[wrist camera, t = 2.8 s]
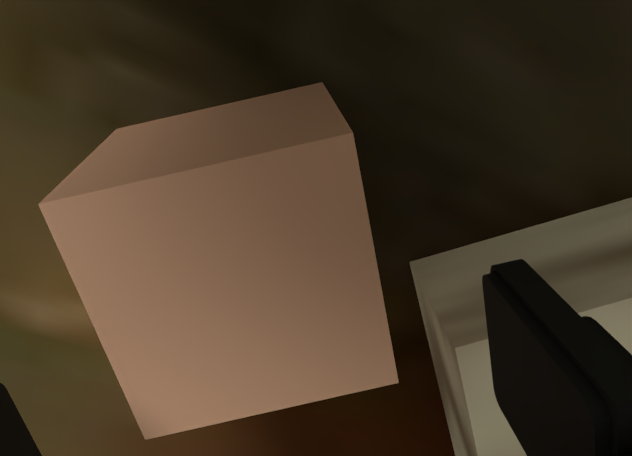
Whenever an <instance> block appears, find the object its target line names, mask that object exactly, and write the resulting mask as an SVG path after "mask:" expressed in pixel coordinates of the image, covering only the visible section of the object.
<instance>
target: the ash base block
mask: <svg viewBox="0 0 632 456" xmlns="http://www.w3.org/2000/svg"><path fill="white" fill-rule="evenodd" d="M518 259H523V260H524V261H526V262H527V263H528V264H529V265H530V266H531V267H532V268H533V269H534V270H535V271H536V272H537V273H538V274H539V275H540V276H541V277H542V278H543V279H544V280H545V281H546V282H547V283H548V284H549V285H550V286H551V287H552V288H553V289H554V290H555V291H556V292H557V293H558V294H559V295H560V296H561V297H562V298H563V299H564V300H565V301H566V302H567V303H568V304H569V305H570V306H571V307H572V308H573V309H574V310H575V311H576V312H577V313H578V314H579V315H580V316H581V317H583V316H589V317H592V318H593V319H594V320H596V321H597V322H598V323H599V324H600V325H601V326H602V327H603V328H604V329H605V330H607V331H608V332H609V333H610V334H611V335H612V336H613V337H614V338H615V339H616V340H617V341H618V342H619V343H620V344H621V345H622V346H623V347H624V348H625V349H626V350H627V351H628V352H629V353H630V354H631V355H632V198H628V199H625V200H621V201H618V202H614V203H611V204H608V205H604V206H601V207H597V208H594V209H590V210H587V211H583V212H580V213H577V214H573V215H570V216H566V217H563V218H559V219H556V220H552V221H549V222H546V223H542V224H539V225H535V226H532V227H528V228H525V229H521V230H518V231H515V232H511V233H508V234H504V235H501V236H497V237H494V238H490V239H487V240H484V241H480V242H477V243H473V244H470V245H466V246H463V247H459V248H456V249H453V250H449V251H446V252H442V253H439V254H435V255H432V256H428V257H425V258H422V259H418V260H415V261H411V262H409V263H410V267H411V272H412V276H413V280H414V284H415V288H416V293H417V297H418V301H419V305H420V310H421V314H422V318H423V322H424V326H425V331H426V335H427V339H428V343H429V348H430V352H431V356H432V360H433V364H434V369H435V373H436V377H437V381H438V385H439V390H440V394H441V398H442V402H443V407H444V411H445V415H446V419H447V423H448V428H449V432H450V436H451V440H452V445H453V449H454V453H455V456H527V455H526V453H525V451H524V450H523V448H522V446H521V444H520V443H519V441H518V439H517V437H516V435H515V434H514V432H513V430H512V428H511V427H510V425H509V423H508V421H507V420H506V418H505V416H504V414H503V413H502V411H501V409H500V407H499V405H498V403H497V400H496V397H495V393H494V388H493V379H492V370H491V360H490V351H489V342H488V333H487V323H486V314H485V305H484V295H483V286H482V276H483V275H485V274H490V269H491V266H492V265H495V264H500V263H504V262H509V261H513V260H518Z"/></svg>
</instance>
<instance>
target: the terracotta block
mask: <svg viewBox="0 0 632 456" xmlns="http://www.w3.org/2000/svg"><path fill="white" fill-rule="evenodd" d="M38 205H39V207H40V209H41V212H42V214H43V216H44V218H45V220H46V223H47V225H48V227H49V229H50V231H51V234H52V236H53V238H54V240H55V242H56V245H57V247H58V249H59V251H60V253H61V256H62V258H63V260H64V262H65V264H66V267H67V269H68V271H69V273H70V275H71V278H72V280H73V282H74V284H75V286H76V289H77V291H78V293H79V295H80V297H81V300H82V302H83V304H84V306H85V308H86V311H87V313H88V315H89V317H90V319H91V322H92V324H93V326H94V328H95V330H96V333H97V335H98V337H99V339H100V341H101V344H102V346H103V348H104V350H105V352H106V355H107V357H108V359H109V361H110V363H111V366H112V368H113V370H114V372H115V374H116V377H117V379H118V381H119V383H120V385H121V388H122V390H123V392H124V394H125V396H126V399H127V401H128V403H129V405H130V407H131V410H132V412H133V414H134V416H135V418H136V421H137V423H138V425H139V427H140V429H141V432H142V434H143V436H144V438H145V440H146V439H151V438H155V437H160V436H164V435H169V434H173V433H178V432H182V431H186V430H191V429H195V428H200V427H204V426H209V425H213V424H218V423H222V422H227V421H231V420H235V419H240V418H244V417H249V416H253V415H258V414H262V413H267V412H271V411H276V410H280V409H284V408H289V407H293V406H298V405H302V404H307V403H311V402H316V401H320V400H325V399H329V398H333V397H338V396H342V395H347V394H351V393H356V392H360V391H365V390H369V389H374V388H378V387H382V386H387V385H391V384H396V383H399V381H398V376H397V370H396V365H395V359H394V354H393V348H392V343H391V337H390V332H389V326H388V321H387V315H386V310H385V304H384V299H383V293H382V288H381V283H380V277H379V272H378V266H377V261H376V255H375V250H374V244H373V239H372V233H371V228H370V222H369V217H368V211H367V206H366V200H365V195H364V189H363V184H362V179H361V173H360V168H359V162H358V157H357V151H356V146H355V140H354V135H353V132H352V130H351V128H350V127H349V125H348V123H347V122H346V120H345V119H344V117H343V115H342V114H341V112H340V110H339V109H338V107H337V105H336V104H335V102H334V100H333V99H332V97H331V95H330V94H329V92H328V91H327V89H326V87H325V86H324V84H323V82H320V83H316V84H311V85H307V86H303V87H298V88H294V89H290V90H285V91H281V92H276V93H272V94H268V95H263V96H259V97H254V98H250V99H246V100H241V101H237V102H232V103H228V104H224V105H219V106H215V107H211V108H206V109H202V110H197V111H193V112H189V113H184V114H180V115H175V116H171V117H167V118H162V119H158V120H153V121H149V122H145V123H140V124H136V125H132V126H127V127H123V128H118V129H116V130H115V131H114V132H113V133H112V134H111V135H110V136H109V137H108V138H107V139H106V140H105V141H103V142H102V143H101V144H100V145H99V146H98V147H97V148H96V149H95V150H94V151H93V152H92V153H91V154H90V155H89V156H88V157H87V158H86V159H85V160H84V161H83V162H82V163H81V164H80V165H78V166H77V167H76V168H75V169H74V170H73V171H72V172H71V173H70V174H69V175H68V176H67V177H66V178H65V179H64V180H63V181H62V182H61V183H60V184H59V185H58V186H57V187H56V188H55V189H53V190H52V191H51V192H50V193H49V194H48V195H47V196H46V197H45V198H44V199H43V200H42V201H41V202H40V203H39V204H38Z"/></svg>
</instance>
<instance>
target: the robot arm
mask: <svg viewBox="0 0 632 456" xmlns="http://www.w3.org/2000/svg"><path fill="white" fill-rule="evenodd" d="M482 286H483V295H484V305H485V314H486V323H487V333H488V342H489V351H490V360H491V370H492V379H493V388H494V393H495V397H496V400H497V403H498V405H499V407H500V409H501V411H502V413H503V414H504V416H505V418H506V420H507V421H508V423H509V425H510V427H511V428H512V430H513V432H514V434H515V435H516V437H517V439H518V441H519V443H520V444H521V446H522V448H523V450H524V451H525V453H526V455H527V456H632V355H631V354H630V353H629V352H628V351H627V350H626V349H625V348H624V347H623V346H622V345H621V344H620V343H619V342H618V341H617V340H616V339H615V338H614V337H613V336H612V335H611V334H610V333H609V332H608V331H607V330H605V329H604V328H603V327H602V326H601V325H600V324H599V323H598V322H597V321H596V320H594V319H593V318H592V317H589V316H583V317H581V316H580V315H579V314H578V313H577V312H576V311H575V310H574V309H573V308H572V307H571V306H570V305H569V304H568V303H567V302H566V301H565V300H564V299H563V298H562V297H561V296H560V295H559V294H558V293H557V292H556V291H555V290H554V289H553V288H552V287H551V286H550V285H549V284H548V283H547V282H546V281H545V280H544V279H543V278H542V277H541V276H540V275H539V274H538V273H537V272H536V271H535V270H534V269H533V268H532V267H531V266H530V265H529V264H528V263H527V262H526V261H524V260H523V259H518V260H513V261H509V262H504V263H500V264H495V265H492V266H491V269H490V274H485V275H483V276H482ZM0 456H42V455H41V453H40V452H39V450H38V448H37V446H36V444H35V442H34V440H33V438H32V436H31V435H30V433H29V431H28V429H27V427H26V425H25V423H24V421H23V419H22V417H21V416H20V414H19V412H18V410H17V408H16V406H15V404H14V402H13V400H12V399H11V397H10V395H9V393H8V391H7V389H6V388H5V386H4V385H3V384H1V383H0Z"/></svg>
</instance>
